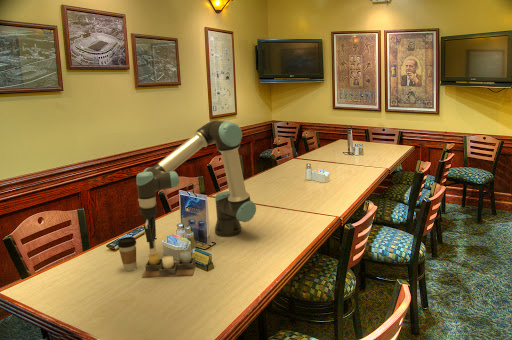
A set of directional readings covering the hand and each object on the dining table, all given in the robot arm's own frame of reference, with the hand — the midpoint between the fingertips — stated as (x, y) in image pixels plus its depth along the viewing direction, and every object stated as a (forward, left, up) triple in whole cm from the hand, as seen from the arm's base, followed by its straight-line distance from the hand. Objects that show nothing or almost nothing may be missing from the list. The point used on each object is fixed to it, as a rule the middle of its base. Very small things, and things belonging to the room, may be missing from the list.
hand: (153, 253), depth 207 cm
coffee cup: (+12, -2, -8) cm, 15 cm away
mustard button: (0, 0, -5) cm, 5 cm away
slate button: (-15, 0, -5) cm, 16 cm away
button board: (-8, +2, -8) cm, 11 cm away
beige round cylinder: (-8, +4, -5) cm, 10 cm away
